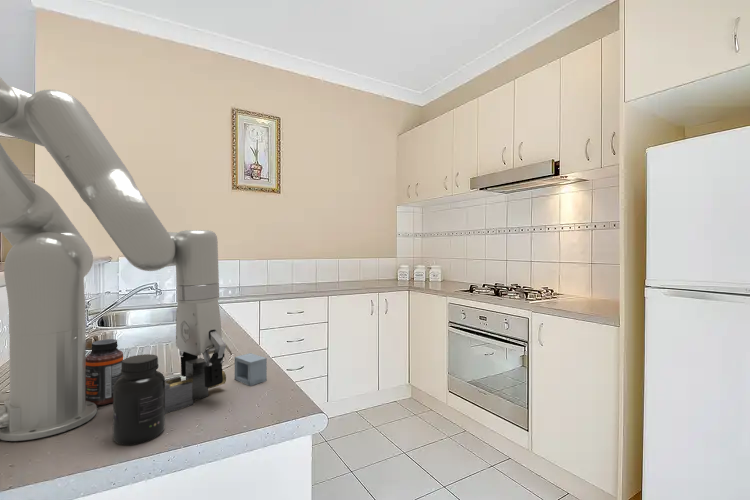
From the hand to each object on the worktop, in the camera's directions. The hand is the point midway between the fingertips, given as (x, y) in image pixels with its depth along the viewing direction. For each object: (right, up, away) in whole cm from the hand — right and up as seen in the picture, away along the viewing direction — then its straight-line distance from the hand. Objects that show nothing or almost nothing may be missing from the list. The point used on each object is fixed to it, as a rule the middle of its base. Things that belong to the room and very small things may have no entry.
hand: (201, 379), depth 73 cm
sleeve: (-5, -3, -6) cm, 8 cm away
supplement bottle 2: (-2, -4, -15) cm, 16 cm away
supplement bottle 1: (-17, -3, -2) cm, 18 cm away
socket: (+7, -3, +9) cm, 12 cm away
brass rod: (-2, -3, -3) cm, 5 cm away
